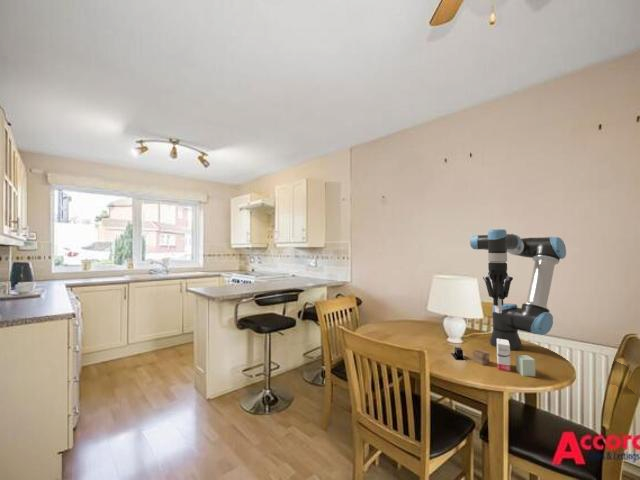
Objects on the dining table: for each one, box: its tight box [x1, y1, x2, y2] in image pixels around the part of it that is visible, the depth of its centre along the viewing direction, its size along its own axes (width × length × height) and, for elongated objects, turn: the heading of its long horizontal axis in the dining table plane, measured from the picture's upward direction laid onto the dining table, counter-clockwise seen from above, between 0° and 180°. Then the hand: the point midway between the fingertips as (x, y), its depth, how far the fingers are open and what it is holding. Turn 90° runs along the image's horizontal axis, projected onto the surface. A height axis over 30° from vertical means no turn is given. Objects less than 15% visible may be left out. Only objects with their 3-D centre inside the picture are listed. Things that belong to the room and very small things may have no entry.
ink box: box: [496, 339, 512, 372], centre depth 132 cm, size 8×5×12 cm, turn 152°
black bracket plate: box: [450, 346, 468, 362], centre depth 145 cm, size 12×7×5 cm, turn 170°
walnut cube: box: [472, 349, 491, 366], centre depth 138 cm, size 5×5×5 cm
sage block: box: [515, 354, 536, 377], centre depth 125 cm, size 5×5×7 cm
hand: (498, 312), depth 134 cm, fingers closed
